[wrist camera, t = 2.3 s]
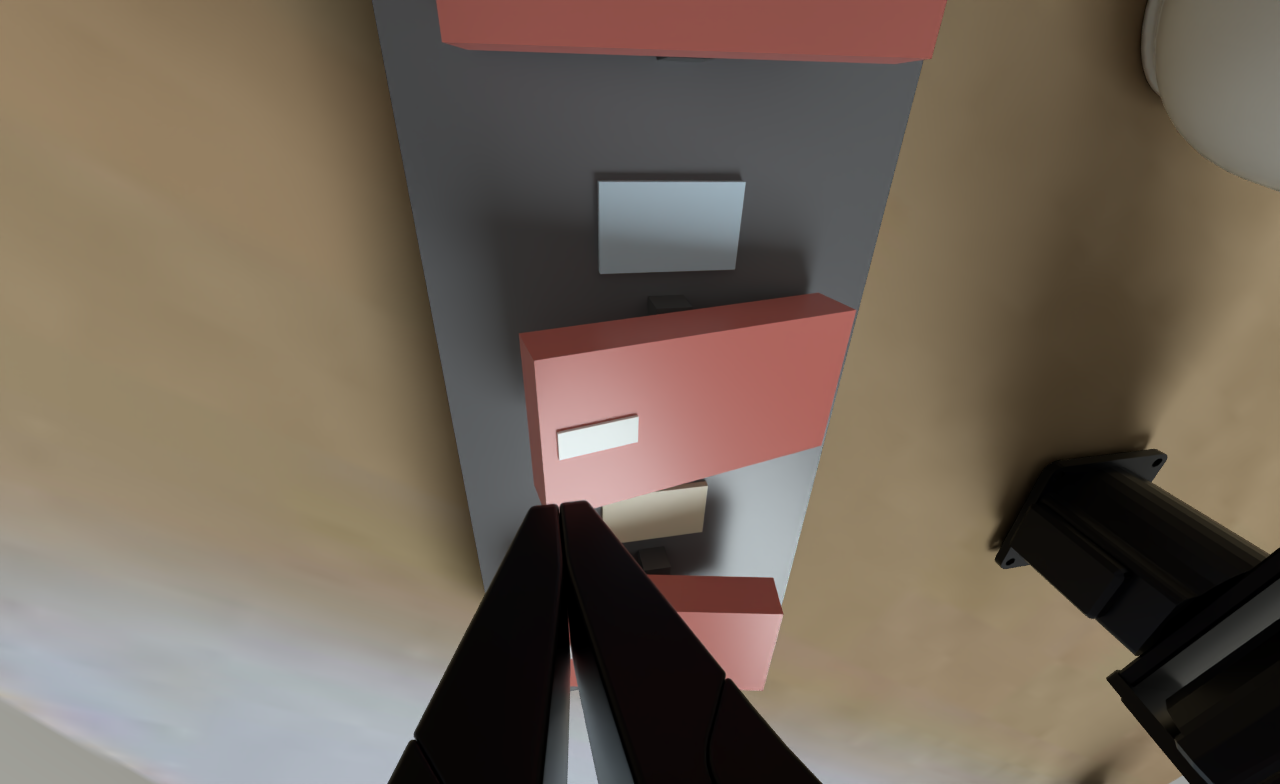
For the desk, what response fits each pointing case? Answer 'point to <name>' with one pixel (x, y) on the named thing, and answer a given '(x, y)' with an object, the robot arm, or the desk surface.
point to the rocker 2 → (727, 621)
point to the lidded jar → (1219, 79)
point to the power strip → (631, 242)
